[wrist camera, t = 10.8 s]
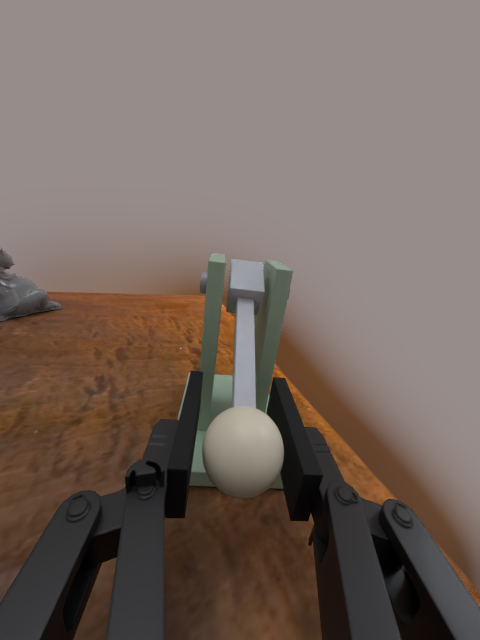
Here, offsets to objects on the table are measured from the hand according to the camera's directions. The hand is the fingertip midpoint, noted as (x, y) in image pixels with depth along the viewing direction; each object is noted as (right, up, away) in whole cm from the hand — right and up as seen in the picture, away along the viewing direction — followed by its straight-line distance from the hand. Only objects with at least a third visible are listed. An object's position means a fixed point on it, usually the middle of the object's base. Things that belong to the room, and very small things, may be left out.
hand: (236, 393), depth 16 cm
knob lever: (0, +2, 0) cm, 2 cm away
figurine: (-34, +6, +21) cm, 41 cm away
